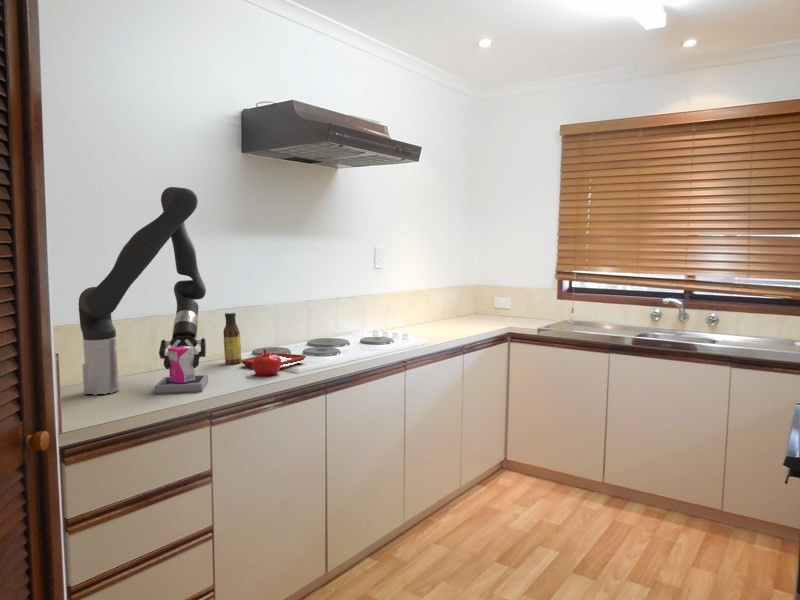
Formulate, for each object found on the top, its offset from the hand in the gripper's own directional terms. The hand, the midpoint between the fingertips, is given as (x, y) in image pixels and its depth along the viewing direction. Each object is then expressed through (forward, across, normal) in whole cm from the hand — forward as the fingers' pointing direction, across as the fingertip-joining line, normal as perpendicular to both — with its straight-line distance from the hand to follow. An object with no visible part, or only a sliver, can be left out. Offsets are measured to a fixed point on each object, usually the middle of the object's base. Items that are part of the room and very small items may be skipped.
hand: (180, 367), depth 190 cm
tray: (+4, 0, +6) cm, 7 cm away
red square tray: (-18, +28, +29) cm, 44 cm away
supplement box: (+3, 0, +5) cm, 6 cm away
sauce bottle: (-24, +12, +34) cm, 44 cm away
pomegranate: (-6, +26, +17) cm, 32 cm away
